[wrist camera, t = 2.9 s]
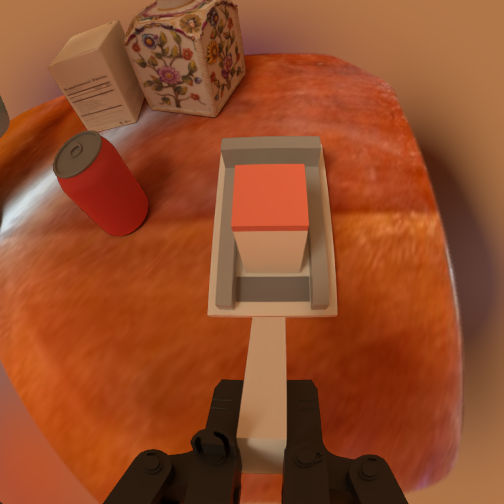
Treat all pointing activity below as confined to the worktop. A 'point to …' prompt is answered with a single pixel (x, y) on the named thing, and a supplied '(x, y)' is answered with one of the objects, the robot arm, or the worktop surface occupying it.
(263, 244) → the block
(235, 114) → the worktop surface
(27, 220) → the worktop surface
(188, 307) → the worktop surface
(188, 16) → the decorative jar
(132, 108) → the supplement box
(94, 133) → the beer can
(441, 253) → the worktop surface
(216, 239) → the grey tray
